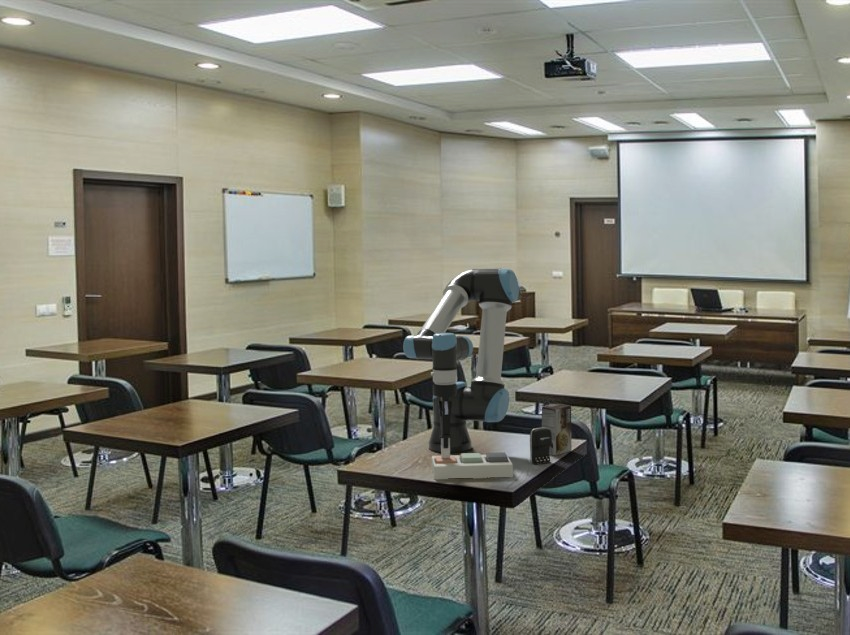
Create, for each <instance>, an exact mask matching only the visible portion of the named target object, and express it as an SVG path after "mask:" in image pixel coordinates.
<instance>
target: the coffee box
mask: <svg viewBox="0 0 850 635" xmlns="http://www.w3.org/2000/svg"><path fill="white" fill-rule="evenodd" d="M543 427H544V428H547V429H550V430H551V433H552V444H550V446H549V455H551V456H559V455H562V454H566V453H569V452H571V451H572V450H573V449H572V405H569V404H564V403H558V402H557V403H553V404H549V405H548V404H547V405H544V406H541V428H543Z"/></svg>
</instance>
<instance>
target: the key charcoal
mask: <svg viewBox="0 0 850 635" xmlns="http://www.w3.org/2000/svg"><path fill="white" fill-rule="evenodd" d="M506 454H507V453H506V452H503V451H502V452H499V451H498V452H485V455H486V462H508V458H509V456H508V454H507V455H506ZM507 456H508V457H507Z"/></svg>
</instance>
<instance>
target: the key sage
mask: <svg viewBox="0 0 850 635" xmlns="http://www.w3.org/2000/svg"><path fill="white" fill-rule="evenodd" d="M460 455H461V463H482V457H481V455H482V454H481V453H480V452H467V453H465V452H463V453H460Z"/></svg>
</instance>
